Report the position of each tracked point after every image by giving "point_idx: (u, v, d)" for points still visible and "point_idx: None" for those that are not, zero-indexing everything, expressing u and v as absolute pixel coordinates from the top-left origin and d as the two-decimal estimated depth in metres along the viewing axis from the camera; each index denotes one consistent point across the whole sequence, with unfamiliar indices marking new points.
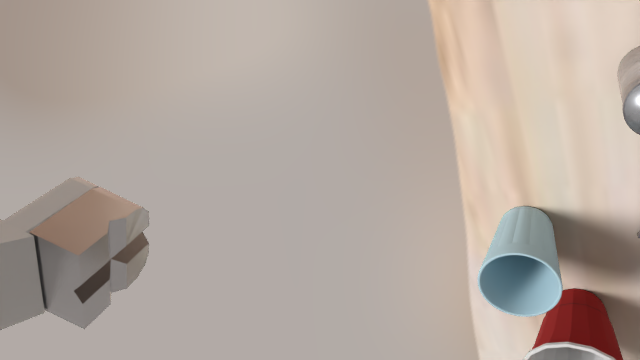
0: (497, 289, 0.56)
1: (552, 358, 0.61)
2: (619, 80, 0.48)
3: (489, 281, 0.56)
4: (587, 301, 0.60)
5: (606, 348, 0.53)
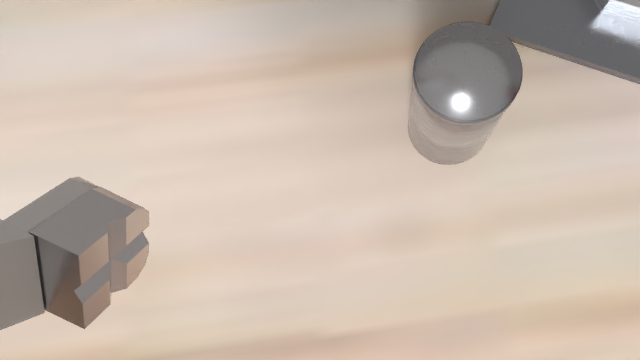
0: None
1: None
2: (451, 154, 0.32)
3: None
4: None
5: None
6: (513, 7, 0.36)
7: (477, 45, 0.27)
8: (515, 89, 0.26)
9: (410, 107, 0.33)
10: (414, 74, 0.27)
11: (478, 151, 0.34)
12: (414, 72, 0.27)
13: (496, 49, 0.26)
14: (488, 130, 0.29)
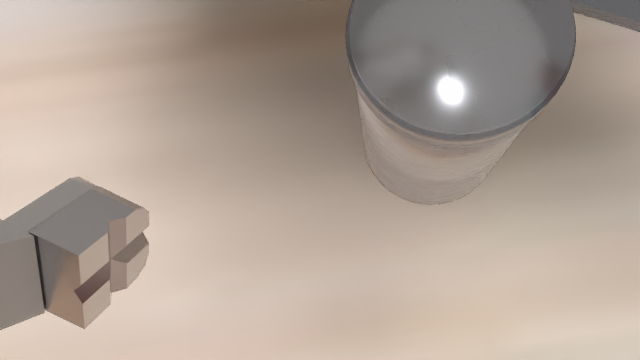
0: None
1: None
2: (433, 191, 0.18)
3: None
4: None
5: None
6: None
7: None
8: (562, 67, 0.12)
9: None
10: (348, 39, 0.13)
11: None
12: (348, 35, 0.13)
13: None
14: (500, 151, 0.15)
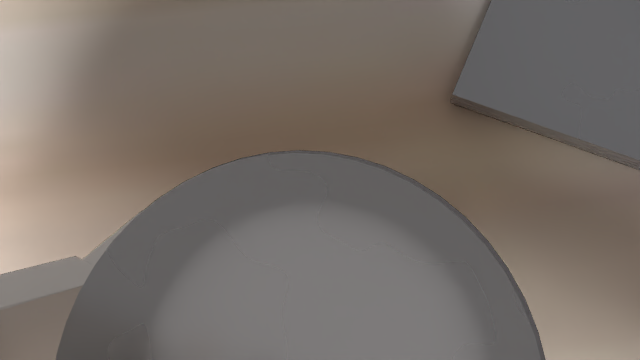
0: None
1: None
2: None
3: None
4: None
5: None
6: (513, 42, 0.15)
7: (336, 272, 0.06)
8: None
9: None
10: None
11: None
12: None
13: (424, 298, 0.05)
14: None
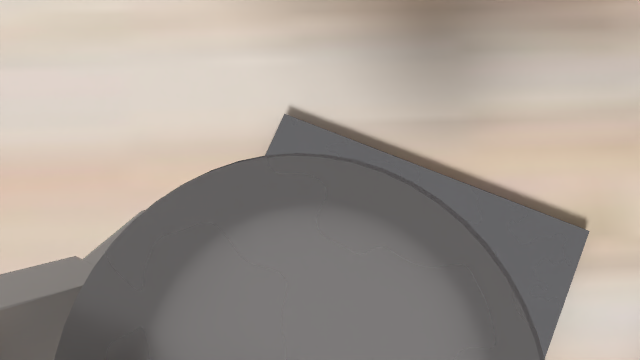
0: None
1: None
2: None
3: None
4: None
5: None
6: None
7: (335, 275, 0.06)
8: None
9: None
10: None
11: None
12: None
13: (423, 301, 0.05)
14: None
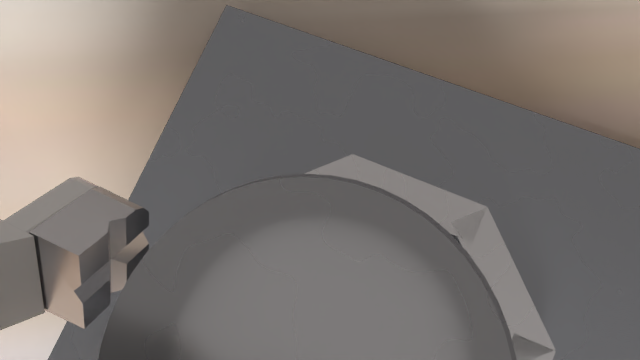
0: None
1: None
2: None
3: None
4: None
5: None
6: None
7: (338, 279, 0.07)
8: None
9: None
10: None
11: None
12: None
13: (413, 301, 0.06)
14: None
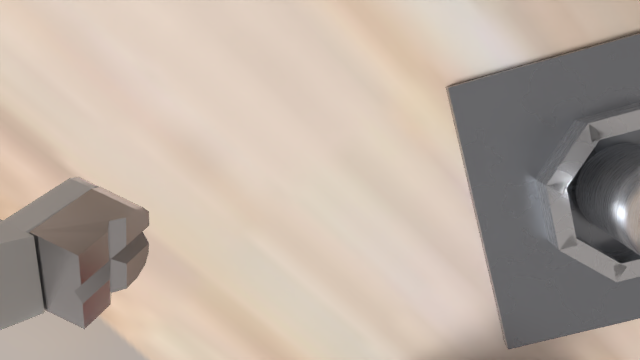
0: None
1: None
2: (603, 226, 0.28)
3: None
4: None
5: None
6: (488, 95, 0.29)
7: None
8: None
9: (631, 161, 0.27)
10: None
11: None
12: None
13: None
14: None
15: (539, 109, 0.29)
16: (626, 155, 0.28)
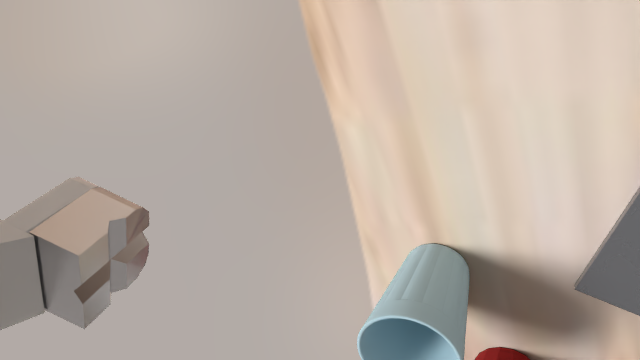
0: (389, 356, 0.43)
1: None
2: None
3: (378, 345, 0.43)
4: None
5: None
6: None
7: None
8: None
9: None
10: None
11: None
12: None
13: None
14: None
15: None
16: None
